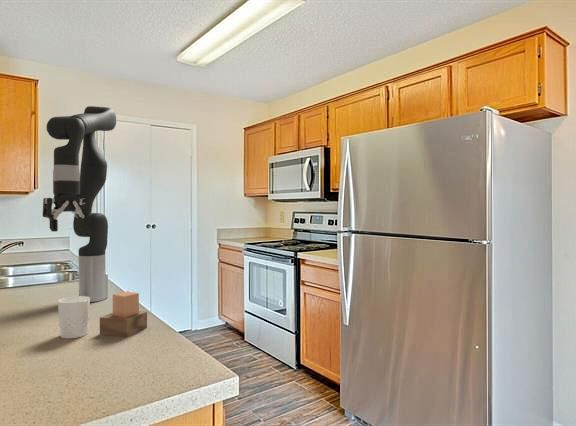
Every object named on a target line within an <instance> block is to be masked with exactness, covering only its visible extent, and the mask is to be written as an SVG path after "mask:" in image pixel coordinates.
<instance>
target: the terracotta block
mask: <svg viewBox="0 0 576 426" xmlns="http://www.w3.org/2000/svg"><path fill="white" fill-rule="evenodd" d="M139 311H140V295H139V292H135V291H127V290H126V291H122V292H119V293H114V294H112V313H113V316H118V317H122V318H126V317H129V316H133V315H136V314H139Z"/></svg>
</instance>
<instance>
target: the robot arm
mask: <svg viewBox="0 0 576 426" xmlns="http://www.w3.org/2000/svg"><path fill="white" fill-rule="evenodd" d="M116 125H117V115H116V112H115V110H114V109H113V108H111V107H108V106H107V107H105V106H95V105H94V106H92V105H89V106H86V107H85V109H84V111H83V113H78V114H76V113H75V114H73V115H68V116H67V115H66V116H64V115H63V116H53V117H51V118H49V120H48V121H47V123H46V131H47V134H48V135H49V136H50V137H51V138H52V139H53V140H54V139H55V140H61V141H62V140H67V143H66V144H65V145H63V146H57V147H55V148H54V150H53V170H52V193H53V198H52V197H44V198H43V200H42V217H43V218H46V219H48V220H49V230H50V231H51V232H53V233H54V232H58V230H59V229H58V228H59V227H58V224H59V223H58V217H59V216H60V215H61V214H62V213H63V212H65V213H66V212H67V213H68V212H69V213H70V212H71V214H73V215H74V216H73V223H72V225H73V226H72V228H73V232H74V234H75V235H76V236H78V237H79V238H82V237H83V238H89V239H88V240H89V241H88V243H87V244H85V245H83V246H81V247H79V248H78V296H87V297H90V303H94V302H101V301H104V300H105V299H108V297H109V276H108V275H109V274H108V273H106V271H107V270H106V250H107V247H108V235H109V231H108V230H109V225H108V224H109V223H108V219H107V217H106V215H105V214H104V213H101V212H100V213H99V212H92V210H93V204H94V201H95V199H96V198H97V195H98V194H99V193H100V191H102V189H103V187H104V186H105V184H106V181H107V173H108V163H107V160H106V157H105V156H104V154H103V153H102V151H101V150H100V147H99V146H98V144H97V139H96V134H95V133H96V132H99V131H103V132H110V131H113V130H114V129H115V128H116ZM81 147H82V151H81V152H82V153H81V162H80V150H81ZM53 204H54V206H53Z"/></svg>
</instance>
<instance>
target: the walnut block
mask: <svg viewBox="0 0 576 426" xmlns="http://www.w3.org/2000/svg"><path fill="white" fill-rule="evenodd" d="M147 328H148V311H145V310H139V314H136V315H133V316H129V317H126V318H122V317H118V316H113V312H111V313H108V314H106V315H103V316H100V317H99V335H104V336H105V335H106V336H112V337H113V336H114V337H123V338H128V337H130V336H132V335H135V334H136V333H138V332H141V331H143V330H145V329H147Z"/></svg>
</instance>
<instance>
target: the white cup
mask: <svg viewBox="0 0 576 426" xmlns="http://www.w3.org/2000/svg"><path fill="white" fill-rule="evenodd" d="M90 305H91V302H90V297H87V296H79V295H76V296H69V297H64V298H60V299H58V300H57V308H58V310H57V311H58V321H59V333H60V338H62V339H66V340H67V339H77V338H81V337H84V336H86V335H88V333H89V325H90Z"/></svg>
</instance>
